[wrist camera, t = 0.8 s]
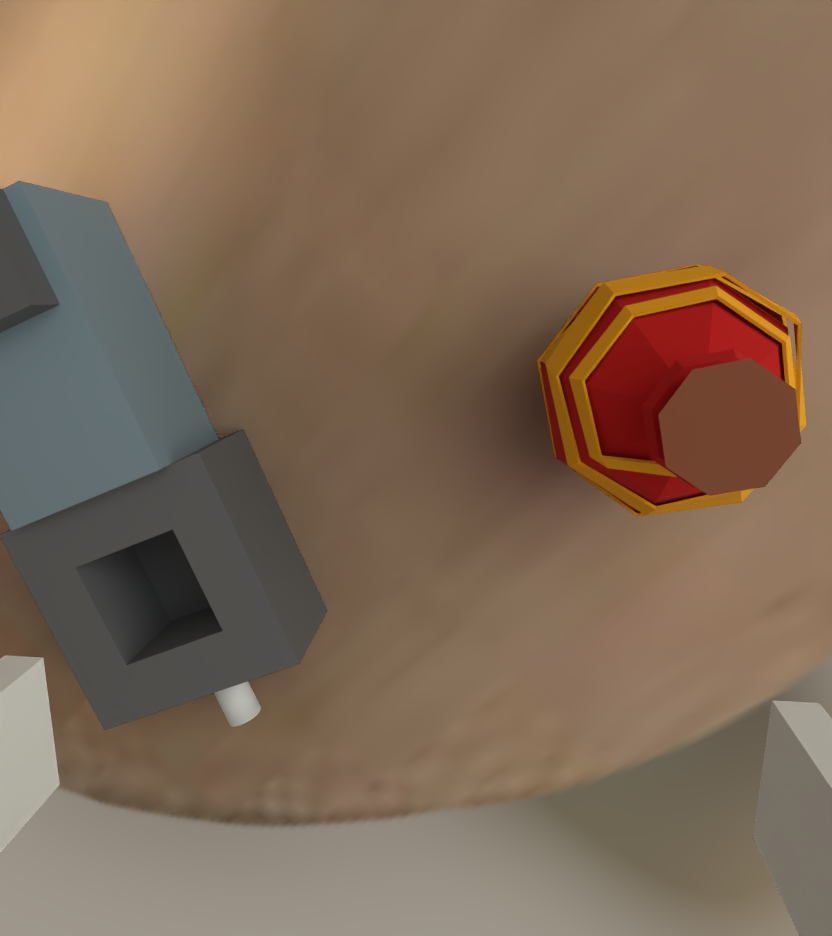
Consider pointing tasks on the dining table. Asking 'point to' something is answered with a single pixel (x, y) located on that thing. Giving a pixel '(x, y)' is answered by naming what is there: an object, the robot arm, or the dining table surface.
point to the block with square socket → (131, 482)
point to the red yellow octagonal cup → (675, 390)
